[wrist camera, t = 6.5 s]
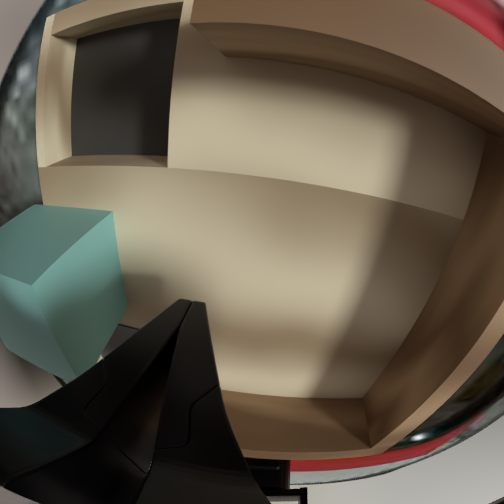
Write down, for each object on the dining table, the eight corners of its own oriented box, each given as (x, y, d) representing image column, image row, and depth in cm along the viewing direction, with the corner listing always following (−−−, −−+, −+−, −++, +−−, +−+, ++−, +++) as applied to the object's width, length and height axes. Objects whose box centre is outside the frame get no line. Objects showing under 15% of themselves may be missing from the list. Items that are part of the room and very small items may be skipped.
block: (128, 306, 11) (83, 387, 7) (55, 287, 11) (7, 348, 7) (113, 211, 9) (31, 285, 5) (34, 204, 9) (-38, 257, 5)
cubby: (373, 408, 14) (381, 453, 11) (209, 399, 14) (199, 450, 11) (513, 111, 5) (577, 132, 2) (231, 13, 5) (202, -42, 2)
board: (360, 395, 17) (364, 419, 15) (115, 362, 17) (104, 383, 15) (486, 77, 6) (517, 79, 4) (75, 23, 6) (45, 17, 5)
